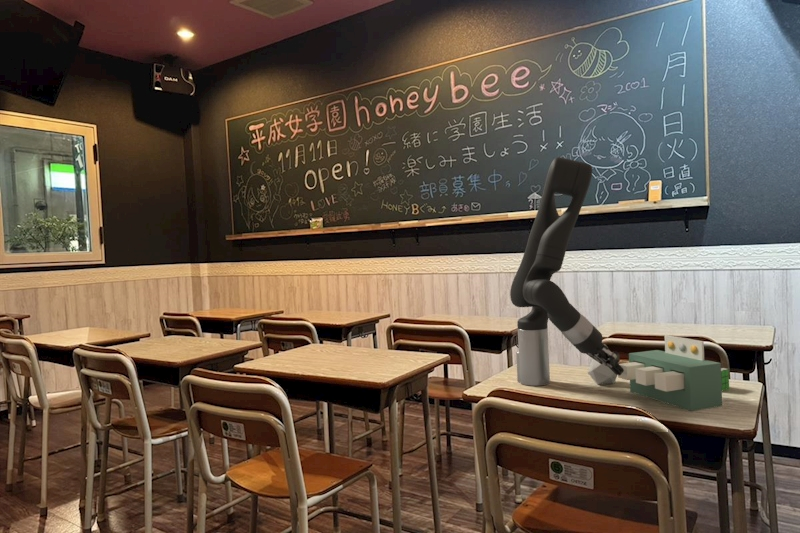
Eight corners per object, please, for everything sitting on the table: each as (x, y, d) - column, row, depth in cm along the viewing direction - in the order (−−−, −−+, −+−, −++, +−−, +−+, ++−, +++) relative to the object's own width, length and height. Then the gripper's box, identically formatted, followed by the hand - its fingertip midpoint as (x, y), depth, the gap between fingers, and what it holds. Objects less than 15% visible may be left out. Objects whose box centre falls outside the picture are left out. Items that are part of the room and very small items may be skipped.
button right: (654, 388, 144) (654, 373, 144) (673, 385, 146) (673, 371, 146) (666, 391, 140) (665, 376, 140) (685, 388, 142) (684, 373, 142)
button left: (618, 377, 157) (617, 364, 157) (636, 375, 159) (635, 361, 159) (627, 380, 154) (627, 366, 154) (645, 377, 155) (645, 364, 155)
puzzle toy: (729, 388, 159) (728, 368, 159) (718, 392, 156) (717, 371, 156) (709, 385, 164) (708, 365, 164) (698, 388, 161) (697, 368, 161)
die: (615, 389, 166) (627, 361, 169) (588, 375, 168) (600, 347, 170) (606, 393, 174) (617, 365, 177) (580, 379, 175) (592, 352, 178)
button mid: (635, 382, 151) (635, 368, 151) (654, 380, 152) (653, 366, 152) (646, 385, 147) (645, 371, 147) (664, 383, 149) (664, 368, 149)
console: (630, 391, 161) (628, 336, 161) (658, 387, 164) (656, 332, 164) (691, 411, 140) (688, 347, 140) (722, 405, 143) (720, 343, 143)
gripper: (604, 324, 146) (644, 366, 150) (573, 319, 158) (612, 358, 162) (587, 346, 144) (629, 388, 148) (558, 339, 157) (597, 378, 161)
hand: (620, 372), depth 155 cm, fingers closed
